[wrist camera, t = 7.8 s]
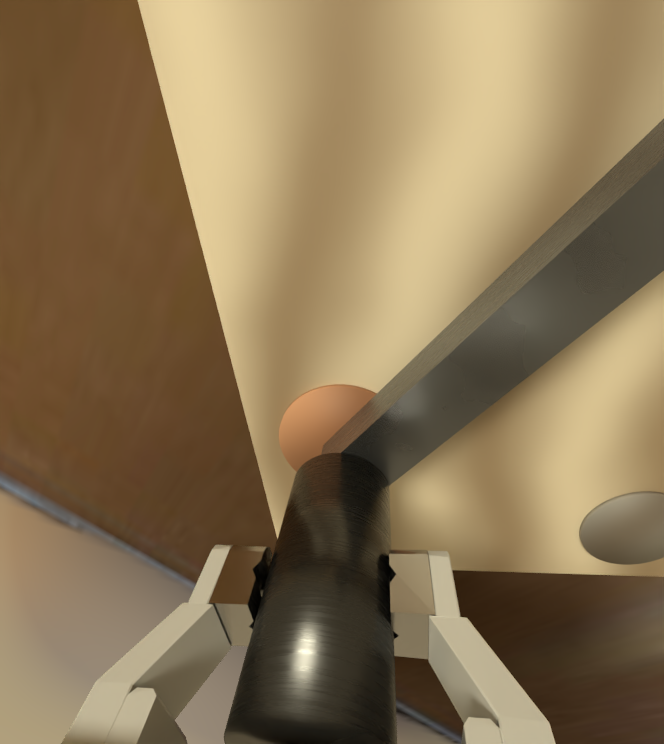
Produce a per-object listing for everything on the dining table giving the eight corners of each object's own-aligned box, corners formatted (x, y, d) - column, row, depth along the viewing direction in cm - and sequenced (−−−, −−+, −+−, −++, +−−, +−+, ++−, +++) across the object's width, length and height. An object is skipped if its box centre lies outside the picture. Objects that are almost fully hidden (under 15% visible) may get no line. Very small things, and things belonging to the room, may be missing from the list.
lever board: (1148, -243, 7) (1352, -352, 6) (719, 548, 17) (751, 584, 16) (156, -27, 10) (118, -60, 9) (290, 538, 20) (283, 568, 19)
